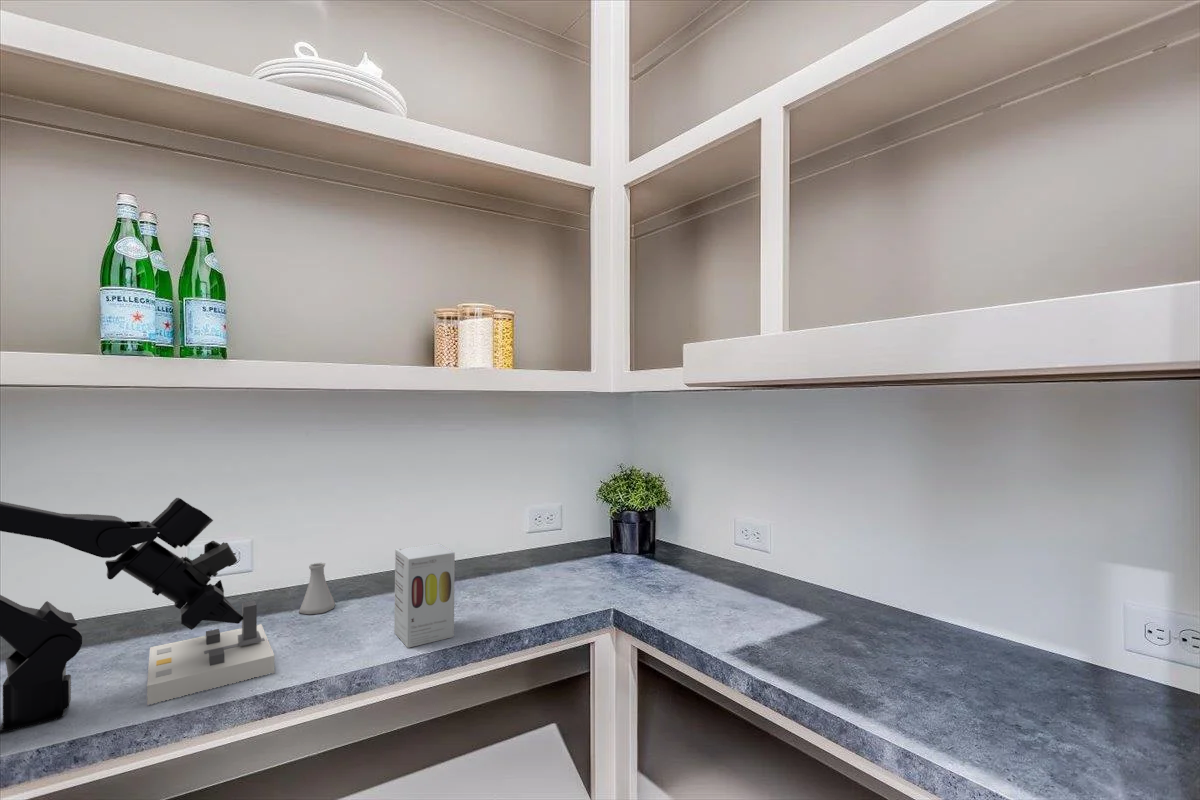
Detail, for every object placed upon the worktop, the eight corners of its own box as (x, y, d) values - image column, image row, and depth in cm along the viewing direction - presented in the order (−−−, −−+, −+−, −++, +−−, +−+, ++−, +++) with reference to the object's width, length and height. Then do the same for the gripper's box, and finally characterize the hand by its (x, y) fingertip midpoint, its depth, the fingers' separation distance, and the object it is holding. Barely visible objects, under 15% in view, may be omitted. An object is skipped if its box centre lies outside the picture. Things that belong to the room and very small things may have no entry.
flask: (340, 603, 130) (340, 559, 130) (325, 615, 123) (325, 569, 123) (309, 603, 130) (309, 560, 130) (292, 615, 123) (292, 569, 123)
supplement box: (406, 649, 106) (406, 559, 106) (392, 632, 114) (392, 548, 114) (456, 636, 112) (455, 551, 112) (439, 621, 119) (439, 541, 119)
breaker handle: (239, 646, 100) (239, 608, 100) (237, 639, 102) (237, 602, 102) (260, 641, 101) (260, 604, 101) (258, 635, 104) (258, 599, 104)
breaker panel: (147, 705, 87) (147, 676, 87) (150, 664, 100) (150, 638, 100) (274, 672, 97) (274, 646, 97) (261, 639, 110) (261, 616, 110)
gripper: (206, 542, 90) (285, 596, 97) (201, 522, 105) (269, 570, 112) (143, 602, 86) (231, 654, 92) (147, 572, 101) (222, 619, 107)
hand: (240, 620), depth 101 cm, fingers closed, pressing on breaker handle
